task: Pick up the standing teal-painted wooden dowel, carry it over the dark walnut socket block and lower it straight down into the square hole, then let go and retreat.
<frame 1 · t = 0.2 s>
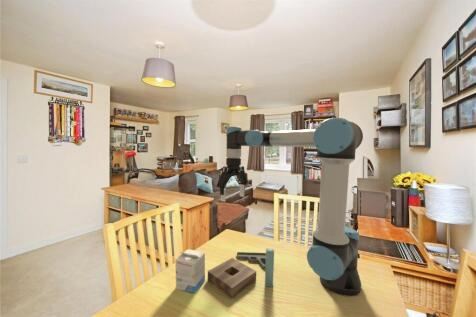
hand: (233, 198, 105), 28 cm above the table, fingers open, 13 cm apart
peg: (269, 284, 81), on the table
socket block: (231, 280, 83), on the table
ink box: (190, 284, 81), on the table
handgun: (254, 263, 97), on the table
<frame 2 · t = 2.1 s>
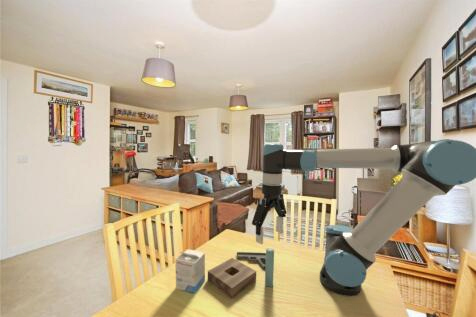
hand: (269, 237, 80), 19 cm above the table, fingers open, 13 cm apart
nothing on the table moved.
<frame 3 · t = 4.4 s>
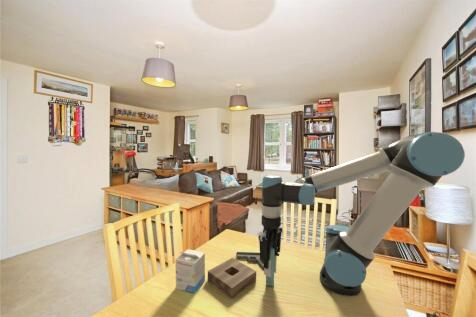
hand: (270, 273, 81), 5 cm above the table, fingers closed on peg, 3 cm apart
peg: (269, 282, 81), point 1 cm above the table, touching gripper
everything else where it was.
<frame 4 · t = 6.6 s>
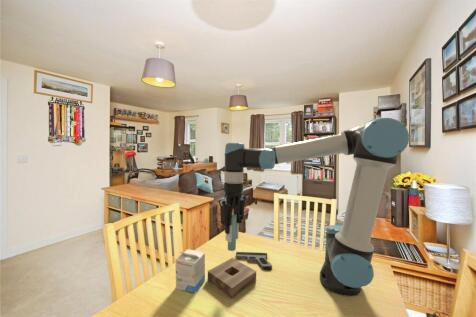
hand: (232, 239, 82), 17 cm above the table, fingers closed on peg, 3 cm apart
peg: (231, 248, 82), point 13 cm above the table, touching gripper
everything else where it was.
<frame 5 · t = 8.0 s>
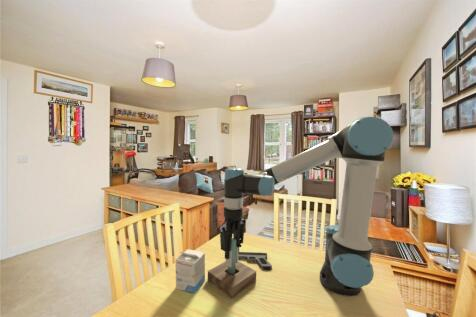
hand: (231, 263, 83), 7 cm above the table, fingers closed on peg, 3 cm apart
peg: (231, 273, 83), point 3 cm above the table, touching gripper
everything else where it was.
when the fingers open (6 cm above the table, at t = 9.1 s): peg drops 1 cm, resting in socket block.
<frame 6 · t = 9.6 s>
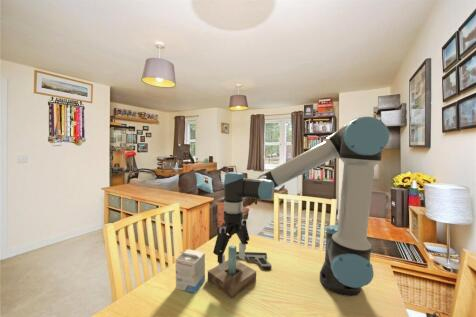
hand: (232, 264, 83), 7 cm above the table, fingers open, 11 cm apart
peg: (231, 280, 83), resting in socket block
everything else where it was.
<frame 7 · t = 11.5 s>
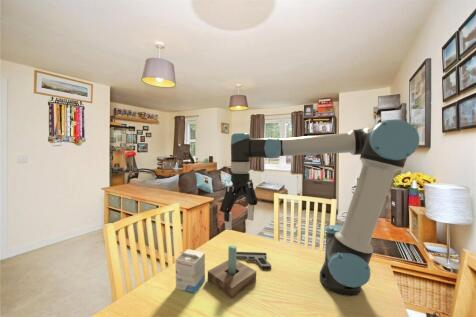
hand: (240, 224, 83), 23 cm above the table, fingers open, 13 cm apart
nothing on the table moved.
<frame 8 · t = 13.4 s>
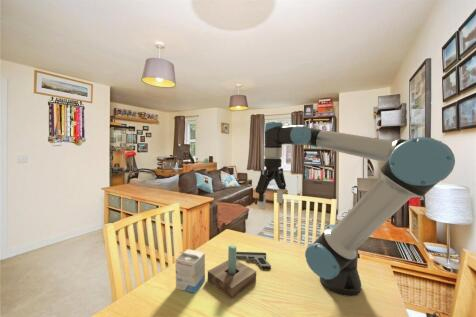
hand: (271, 205, 90), 29 cm above the table, fingers open, 13 cm apart
at the end: peg 0.0 cm off-centre on the socket block, point 0.0 cm above the socket block's base; peg tilted 0°; the gripper is holding nothing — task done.
